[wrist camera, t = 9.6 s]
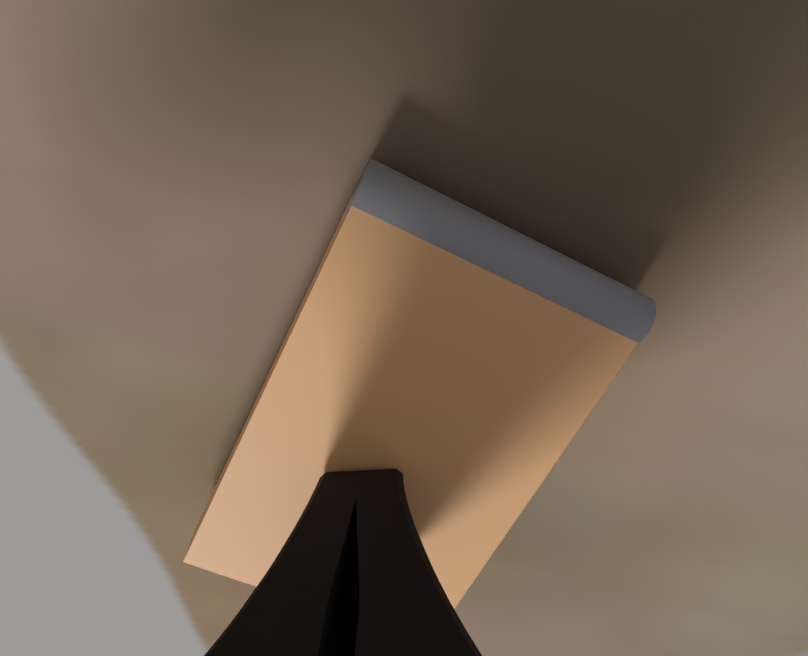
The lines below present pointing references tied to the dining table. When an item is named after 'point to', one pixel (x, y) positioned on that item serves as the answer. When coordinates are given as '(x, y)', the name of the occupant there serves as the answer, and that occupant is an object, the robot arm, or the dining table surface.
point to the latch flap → (423, 379)
